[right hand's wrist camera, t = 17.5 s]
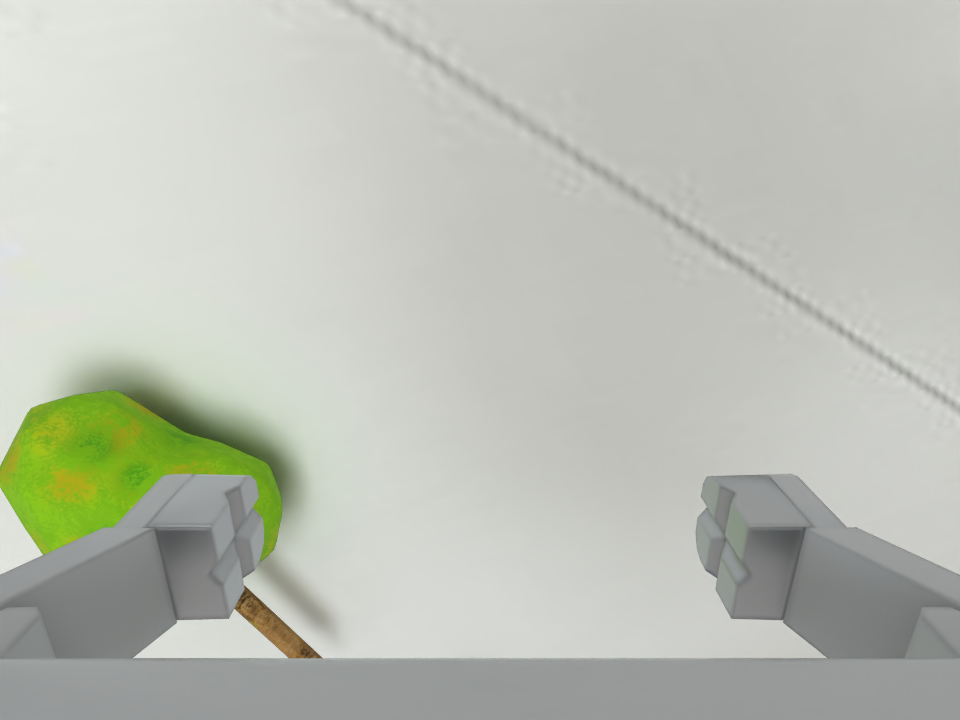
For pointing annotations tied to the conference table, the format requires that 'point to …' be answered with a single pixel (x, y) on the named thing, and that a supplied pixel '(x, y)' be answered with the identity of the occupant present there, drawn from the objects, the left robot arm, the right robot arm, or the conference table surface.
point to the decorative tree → (124, 479)
